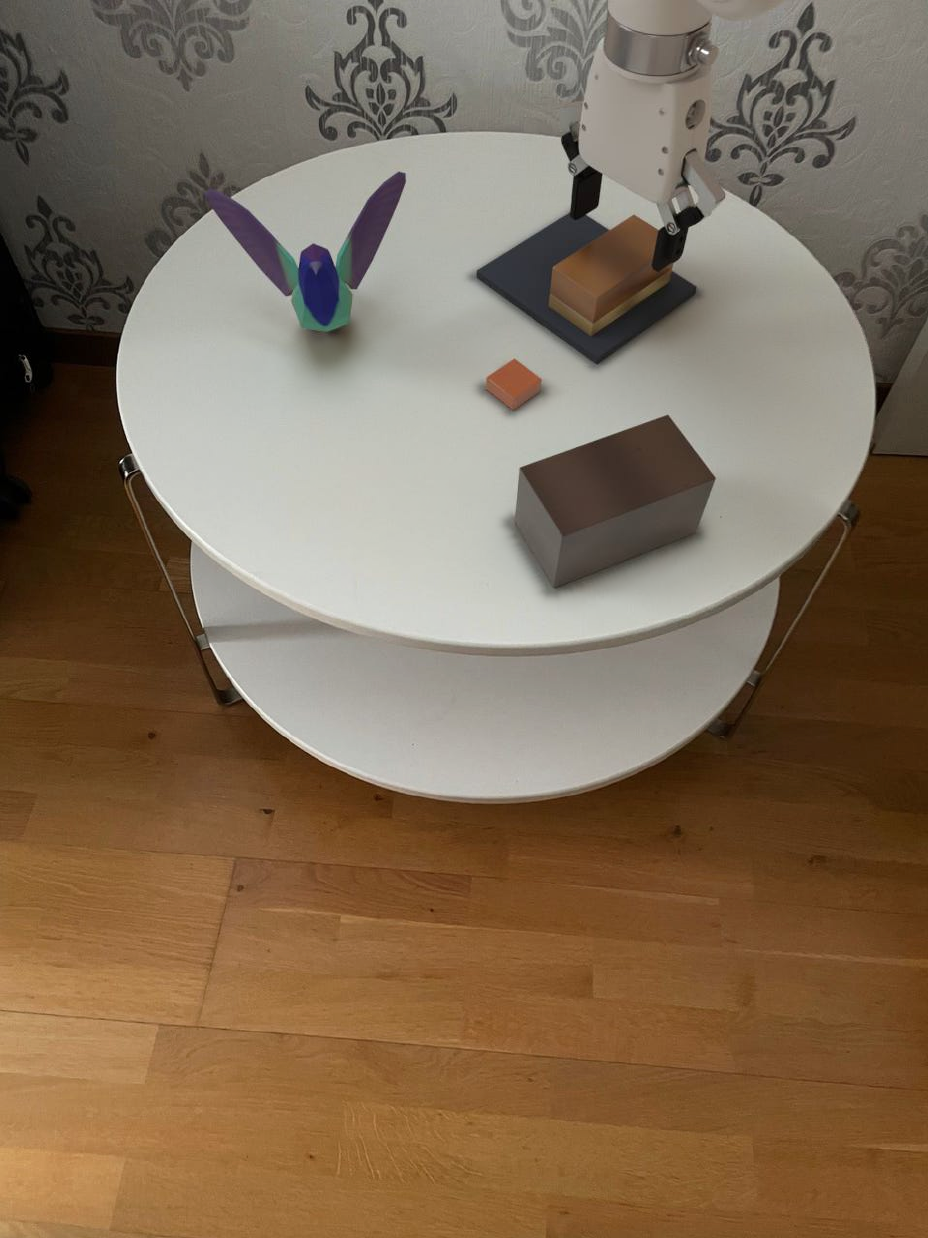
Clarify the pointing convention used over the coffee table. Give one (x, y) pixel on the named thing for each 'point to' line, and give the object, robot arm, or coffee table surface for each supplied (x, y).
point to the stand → (611, 499)
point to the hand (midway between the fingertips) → (623, 237)
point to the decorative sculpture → (315, 256)
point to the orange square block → (513, 384)
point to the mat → (529, 284)
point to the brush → (607, 276)
